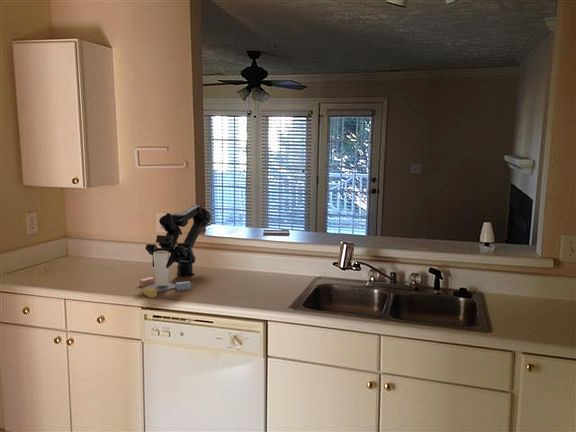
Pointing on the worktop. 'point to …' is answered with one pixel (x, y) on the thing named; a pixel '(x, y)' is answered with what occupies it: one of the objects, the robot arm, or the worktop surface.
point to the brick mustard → (150, 291)
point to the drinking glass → (161, 267)
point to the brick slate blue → (183, 285)
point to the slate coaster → (162, 287)
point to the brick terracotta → (147, 281)
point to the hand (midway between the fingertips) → (160, 266)
